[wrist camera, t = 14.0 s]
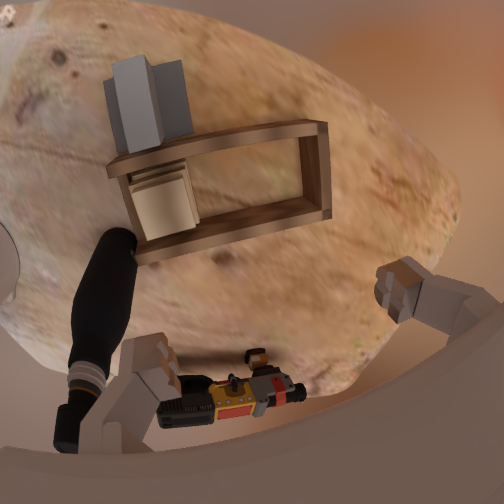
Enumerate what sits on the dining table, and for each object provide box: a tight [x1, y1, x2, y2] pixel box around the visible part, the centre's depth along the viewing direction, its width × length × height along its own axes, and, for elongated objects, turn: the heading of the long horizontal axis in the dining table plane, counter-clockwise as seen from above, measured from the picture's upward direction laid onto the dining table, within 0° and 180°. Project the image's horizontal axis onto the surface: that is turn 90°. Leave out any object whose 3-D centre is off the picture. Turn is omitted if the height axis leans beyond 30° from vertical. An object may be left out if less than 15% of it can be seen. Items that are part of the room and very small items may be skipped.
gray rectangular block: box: [112, 54, 165, 154], centre depth 25 cm, size 3×9×10 cm, turn 8°
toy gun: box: [156, 348, 307, 429], centre depth 47 cm, size 6×28×15 cm, turn 81°
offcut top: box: [131, 175, 196, 241], centre depth 31 cm, size 6×6×2 cm
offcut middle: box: [128, 165, 200, 239], centre depth 33 cm, size 7×7×2 cm
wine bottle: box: [53, 228, 138, 454], centre depth 25 cm, size 6×6×30 cm
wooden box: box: [105, 119, 332, 266], centre depth 34 cm, size 26×13×6 cm, turn 98°
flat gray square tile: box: [103, 60, 194, 153], centre depth 29 cm, size 10×10×1 cm
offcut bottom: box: [132, 159, 200, 220], centre depth 35 cm, size 7×8×2 cm
